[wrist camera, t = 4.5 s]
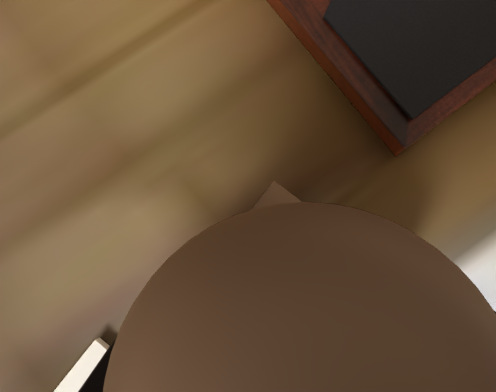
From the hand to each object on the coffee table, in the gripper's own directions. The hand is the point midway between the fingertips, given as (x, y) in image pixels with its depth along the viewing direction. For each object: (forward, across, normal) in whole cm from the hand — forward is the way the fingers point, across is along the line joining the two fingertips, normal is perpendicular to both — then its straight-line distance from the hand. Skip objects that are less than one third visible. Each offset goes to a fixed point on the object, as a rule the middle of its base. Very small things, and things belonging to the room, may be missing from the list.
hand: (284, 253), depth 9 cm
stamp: (+4, 0, +6) cm, 7 cm away
